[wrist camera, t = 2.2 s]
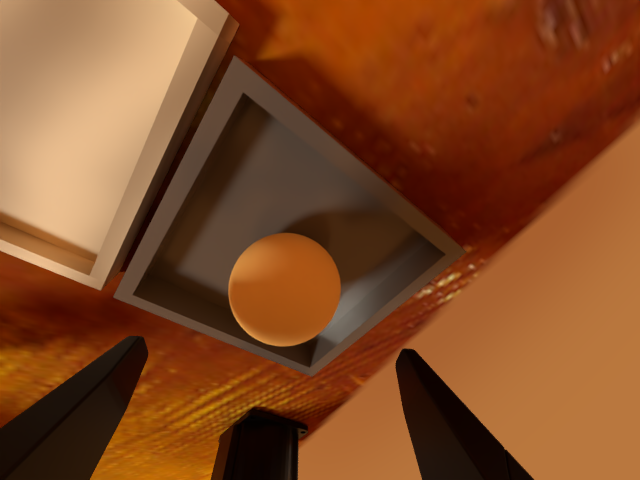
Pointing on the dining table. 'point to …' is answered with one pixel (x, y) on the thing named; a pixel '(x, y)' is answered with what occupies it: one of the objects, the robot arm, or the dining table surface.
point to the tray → (96, 121)
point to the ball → (284, 289)
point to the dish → (279, 222)
